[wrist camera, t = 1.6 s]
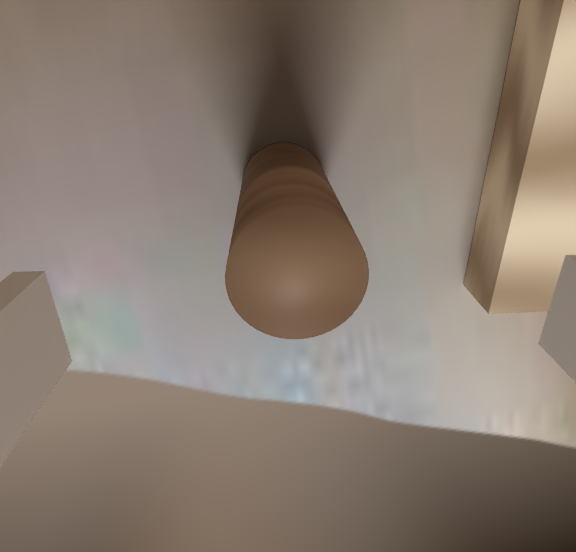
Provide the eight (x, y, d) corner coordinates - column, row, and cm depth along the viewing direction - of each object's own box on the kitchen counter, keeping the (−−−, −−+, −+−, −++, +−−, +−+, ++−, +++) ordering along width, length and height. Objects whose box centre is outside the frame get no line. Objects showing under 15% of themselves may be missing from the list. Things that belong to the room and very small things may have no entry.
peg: (239, 143, 20) (218, 214, 11) (325, 141, 20) (374, 209, 11) (245, 224, 21) (231, 341, 13) (323, 222, 22) (363, 336, 13)
